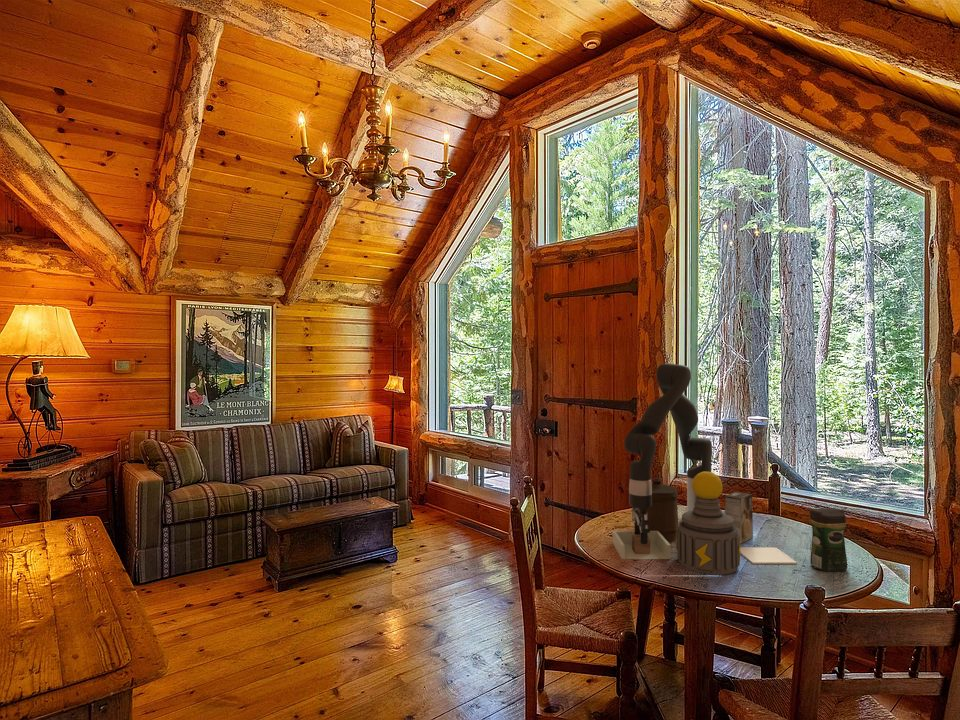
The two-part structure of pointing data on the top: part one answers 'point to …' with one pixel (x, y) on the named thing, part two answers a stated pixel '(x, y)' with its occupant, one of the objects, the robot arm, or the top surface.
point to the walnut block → (640, 545)
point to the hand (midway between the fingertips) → (640, 539)
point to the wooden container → (664, 510)
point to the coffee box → (740, 513)
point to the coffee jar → (828, 539)
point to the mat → (766, 556)
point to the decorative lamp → (708, 531)
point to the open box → (657, 551)
